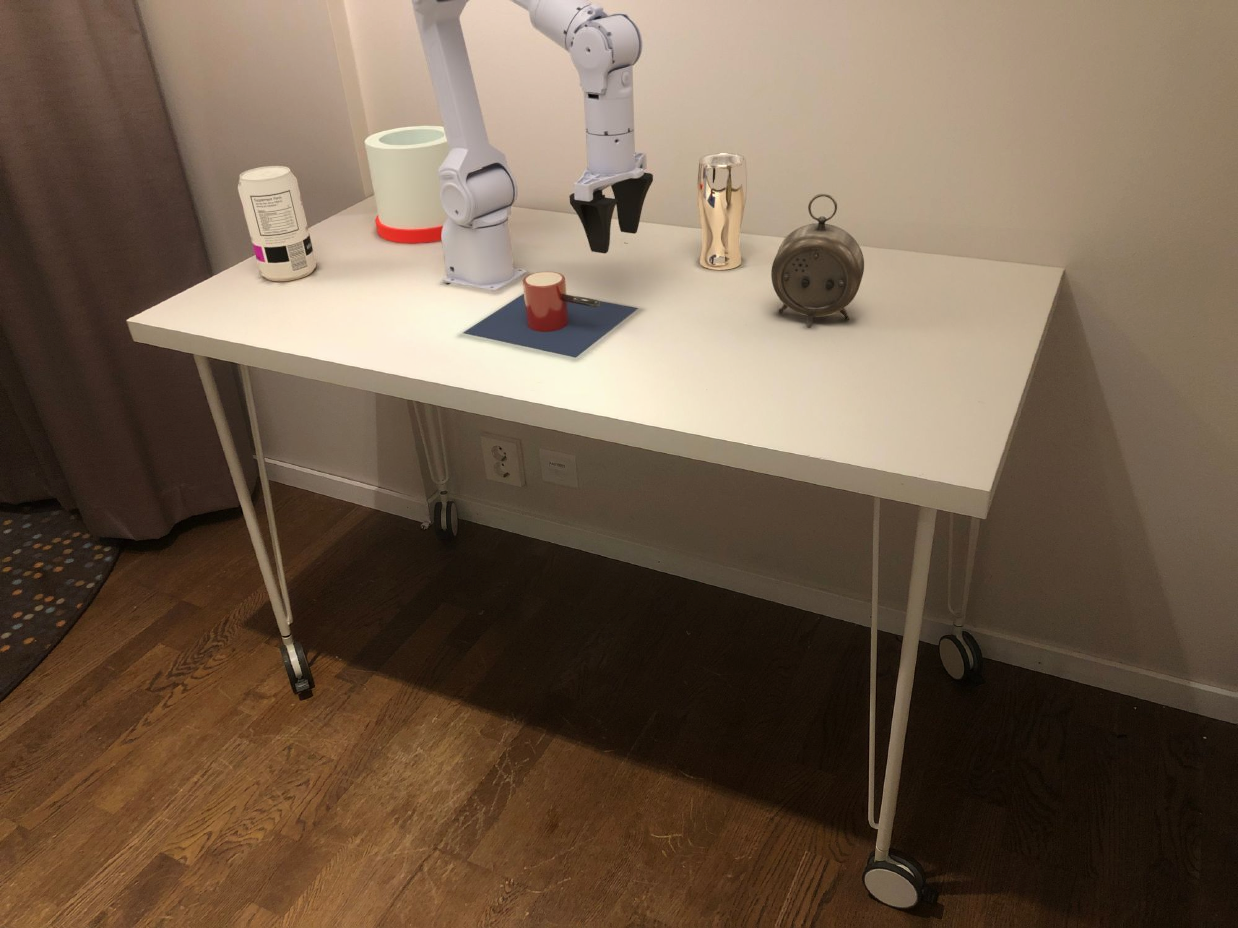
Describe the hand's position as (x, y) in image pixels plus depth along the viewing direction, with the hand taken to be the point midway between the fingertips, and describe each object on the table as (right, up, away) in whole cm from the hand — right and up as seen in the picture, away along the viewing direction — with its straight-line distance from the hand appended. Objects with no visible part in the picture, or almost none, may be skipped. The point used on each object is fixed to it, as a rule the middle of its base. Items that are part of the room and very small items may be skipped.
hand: (614, 241), depth 117 cm
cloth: (-8, -9, +5) cm, 13 cm away
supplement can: (-49, +1, +24) cm, 55 cm away
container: (-32, +12, +40) cm, 52 cm away
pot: (-6, -10, +3) cm, 12 cm away
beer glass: (+15, +2, +20) cm, 25 cm away
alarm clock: (+25, -10, +2) cm, 27 cm away
